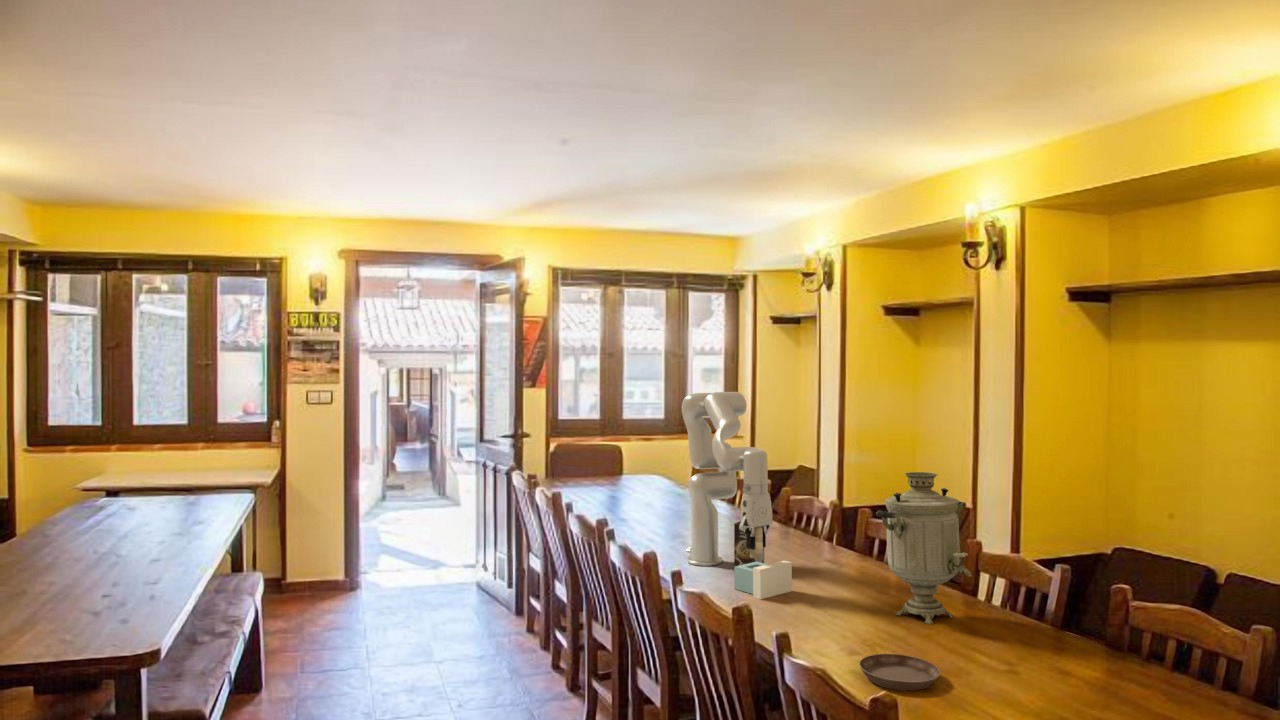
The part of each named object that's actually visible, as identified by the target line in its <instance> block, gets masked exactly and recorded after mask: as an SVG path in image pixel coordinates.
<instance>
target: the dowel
mask: <svg viewBox="0 0 1280 720" xmlns="http://www.w3.org/2000/svg"><path fill="white" fill-rule="evenodd" d="M750 530H751V528H750ZM754 537H755V549H754V550H752V549H750V558H755V559H759V558H763V526H761V527H755V529H754Z"/></svg>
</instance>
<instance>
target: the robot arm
mask: <svg viewBox="0 0 1280 720" xmlns="http://www.w3.org/2000/svg"><path fill="white" fill-rule="evenodd" d="M747 406H748V405H747V401H746V398H745V396H744V395H743V394H742V393H741V392H738V391H716V392H697V393H691V394H688V395H687V396H685V397H684V398H683V400H682V403H681V414H682V419H683V421H684V424H685V427H686V430H687V438H688V439H687V441H688V448H689V449H688V450H689V459H690V464H691V466H692V467H693V468H694V469H696V470H709V469H710V470H711V469H712V470H713V469H718V470H719V471H717V472H713V471H712V472H698V473H695V474H694V475H692V476H690V478H689V480H688V481H687V482H688V484H687V485H688V487H687V488H688V493H689V499H690V511H691V515H690V516H691V517H690V519H691V521H690V522H691V523H690V525H691V536H690V537H691V545H690V546H689V547H688V548H686V550H685V552H686V553H687V554H689V556H688V557H687V558H686V559H687V560H686V561H687V563H688V564H689V565H693V566H703V567H707V566H710V567H711V566H717V565H721V564H723V562H724V559H723V557H721V556H719V512H718V509H717V507H716V506H715V504H714V503H713V500H723V499H731V498H733V497H735V495H736V494H737V490H738V481H737V472H740V471H742V472H743V487H742V492H743V494H742V497H741V504H740V505H741V506H740V521H741V523H740V526H739V529H741V530H742V531H743V532H744V533H745V536H747V548H748V549H752V550H754V549H755V537H754V529H755V527H761V526H763V547H764V548H766V547H767V541H766V540H767V539H766V537H767V534H768V531H769V528H770V527H771V525H772V524H773V507H772V500H771V495H770V492H768V490H769V488H768V486H769V485H768V483H769V481H768V479H769V477H768V476H769V475H768V474H769V473H768V470H769V469H768V468H769V467H768V453H767V451H766V450H763V449H758V447H754V446H739V447H734V446H733V447H732V446H731V445H730V443H729V442H727V440H729V439H731V438H733V437H734V436H735V435H737V434H738V432H740V430H741V421H740V419H739V417H740V416H743V415H744V414H745V413H746V411H747ZM705 417H706V418H707V417H709V419H710V421H711V423H712V425H713V428H714V429H715V433H714V434H713V435H712V429H711V426H710V425H709V424H708V422H707V420H705ZM749 528H751V530H749Z"/></svg>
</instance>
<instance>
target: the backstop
mask: <svg viewBox="0 0 1280 720" xmlns="http://www.w3.org/2000/svg"><path fill="white" fill-rule="evenodd" d="M766 564H767V565H763V566H759V567H754V568H753V594H752V595H753V596H752V597H753V598H754V599H758V600H763V599H768V598H771V597H775V596H779V595H783V594H786V593H791V592H792V591H793V588H792V587H793V586H792V585H793V583H792V582H793V581H792V578H793V577H792V576H793V575H792V574H793V573H792V569H793V566H792V562H791V561H787V560H781V561H777V562H772V563H766Z"/></svg>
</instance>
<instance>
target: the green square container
mask: <svg viewBox="0 0 1280 720" xmlns="http://www.w3.org/2000/svg"><path fill="white" fill-rule="evenodd" d="M767 564H768V563H765V562H764V563H760V562H753V563H748V564H744V565H739V566H735V570H734V590H738V591H741V592H744V593H748V594H752V595H753V568H754V567H759V566H763V565H767Z"/></svg>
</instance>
